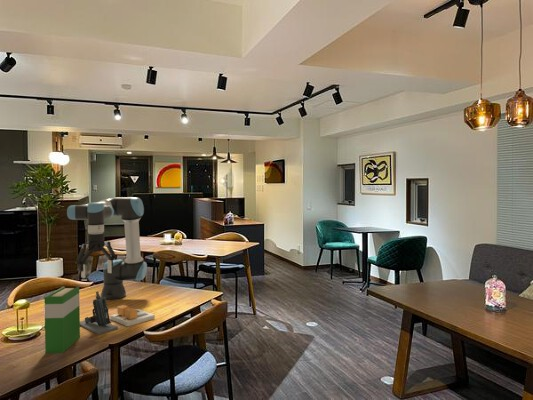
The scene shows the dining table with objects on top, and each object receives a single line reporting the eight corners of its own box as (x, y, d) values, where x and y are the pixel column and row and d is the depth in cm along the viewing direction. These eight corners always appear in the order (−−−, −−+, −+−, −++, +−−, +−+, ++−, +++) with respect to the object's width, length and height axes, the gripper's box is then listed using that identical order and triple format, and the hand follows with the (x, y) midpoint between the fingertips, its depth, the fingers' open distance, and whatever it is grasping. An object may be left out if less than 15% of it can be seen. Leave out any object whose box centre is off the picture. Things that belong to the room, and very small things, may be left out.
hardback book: (63, 337, 185) (62, 286, 184) (79, 337, 186) (79, 286, 185) (45, 353, 167) (44, 297, 167) (63, 352, 168) (62, 296, 167)
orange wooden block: (117, 314, 212) (117, 306, 212) (124, 312, 215) (124, 304, 215) (122, 315, 209) (122, 308, 208) (129, 314, 212) (129, 306, 212)
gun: (83, 294, 205) (104, 289, 199) (90, 326, 203) (111, 322, 198) (79, 295, 202) (100, 291, 196) (85, 328, 201) (107, 324, 195)
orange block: (125, 317, 207) (125, 309, 206) (132, 315, 210) (131, 307, 209) (130, 319, 203) (130, 311, 203) (137, 317, 206) (137, 309, 206)
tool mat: (77, 324, 203) (77, 322, 203) (96, 319, 211) (96, 317, 211) (98, 334, 189) (98, 332, 189) (117, 328, 196) (117, 326, 196)
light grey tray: (110, 319, 211) (110, 315, 211) (137, 312, 223) (137, 308, 223) (127, 326, 200) (127, 322, 200) (154, 318, 212) (154, 314, 212)
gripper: (74, 236, 186) (75, 280, 187) (123, 231, 205) (123, 271, 206) (67, 234, 191) (68, 278, 192) (115, 230, 210) (116, 269, 211)
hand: (96, 275), depth 199 cm, fingers open, 13 cm apart
